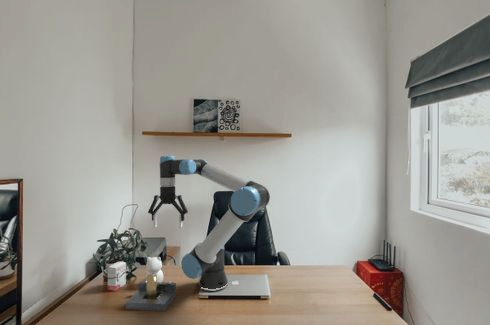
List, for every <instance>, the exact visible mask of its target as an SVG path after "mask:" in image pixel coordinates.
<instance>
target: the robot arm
mask: <svg viewBox="0 0 490 325" xmlns="http://www.w3.org/2000/svg"><path fill="white" fill-rule="evenodd" d="M195 174H196V175H200V177H203V178H205V179H207V180H209V181H212V182H213V183H214V184H217V185H219V186H221V187H224V188H226V189H228V190H229V191H231V192H233V193H232V194H231V198H230V202H229V203H228V206H227V207H228V210H227V211H226V212H225V214H224V215H223V216H222V217H221V219H220V220H219V221H218V222H217V224H216V225H215V226H214V227H213V229H212V230H211V231H210V232H209V234H208V235H207V236H206V237H205V238H204V240H203V241H202V242H198V243H197V244H196V245H195V246H194V247H193V248H192V250H190V252H188V253H186V254H185V255H183V256H182V259H181V261H180V266H181V270H182V272H183V274H184V275H185V276H186V277H187V278H189V279H193V280H195V279H198V278H199V281H198V288H199V289H200V288H201V287H203V288H208V289H216V288H221V287H223V286H225V285H226V284H227V283H228V284H229V282H228V277H227V273H226V271H225V244H226V243H227V242H228V241H229V240H230V239H231V237H232V236H233V235H234V234H235V233H236V232H237V230H238V229H239V228H240V227H241V225H242V224H243V223H244V222H246V223H247V222H249V221H250V220H251V219H252V218H253V216H255V214H256V213H257V212H258V211H260V210H263V209H264V208H266V207H267V206H268V204H270V203H269V202H270V198H271V195H270V192H269V190H268V189H267V187H265V186H264V185H262V184H260V183H257V182H256V181H253V180H250V179H249V180H246V179H243V178H242V177H239V176H237V175H234V174H232V173H230V172H228V171H226V170H224V169H221V168H219V167H216V166H215V165H213V164H211V163H209V162H208V161H207V160H205V159H188V158H185V159H176V157H175V156H174V155H161V156H160V158H159V186H160V187H159V195H158V194H156V195H154V196H153V200H152V202H151V205H150V207H149V209H148V211H147V213H148V214H150V215H151V221H153V229H154V228H157V227H158V214H157V212H158V211H159V210H160V209H161V208H162V206H163V205H172V206H173V207H174V209H176V210H177V211H178V212H179V217H178V218H179V220H178V221H179V227H178V228H179V229H182V228H183V224H184V223H183V222H184V221H185V214H188V213H189V211H188V209H187V207H186V205H185V202H184V200H183V197H182V195H181V194H179V195H176V186H175V185H176V175H183V176H189V175H190V176H191V175H195ZM158 200H160V201H159V203H158ZM176 200H177V201H178V203H179V204H178V203H177V201H176ZM157 203H158V204H157ZM156 204H157V206H156ZM155 206H156V207H155Z"/></svg>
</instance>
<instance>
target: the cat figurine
mask: <svg viewBox="0 0 490 325" xmlns="http://www.w3.org/2000/svg"><path fill="white" fill-rule="evenodd" d="M146 261H147V262H146V265H145V269H146V271H147V273H146V275H145V281H146V280H147V276H148V275H150V274H156V275H157V282H163V281H164V273H163V272H164V271H162V267H163V262H162V259H161V257H160V256H158V257H157V256H153V257H149V256H147V258H146Z"/></svg>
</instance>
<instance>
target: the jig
mask: <svg viewBox="0 0 490 325" xmlns="http://www.w3.org/2000/svg"><path fill="white" fill-rule="evenodd" d="M176 296H177V283H176V282H172V281H171V280H169V281H167V282H163V281H162V282H157V298H156V299H147V280H146V279H145V280H144V281H140V282H139V283H138V290H137V291H135V293H133V295H131V297H130V298H128V299H127V300H126V302H124V303H125V310H136V311H137V310H140V311H159V312H161V311H162V312H165V311H166V310H167V308H168V307H169V306H170V304H171V303H172V301H173V300H174V299H175V297H176Z"/></svg>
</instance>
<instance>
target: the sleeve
mask: <svg viewBox="0 0 490 325" xmlns="http://www.w3.org/2000/svg"><path fill="white" fill-rule="evenodd" d="M156 298H157V275H156V274H150V275H148V276H147V299H156Z"/></svg>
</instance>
